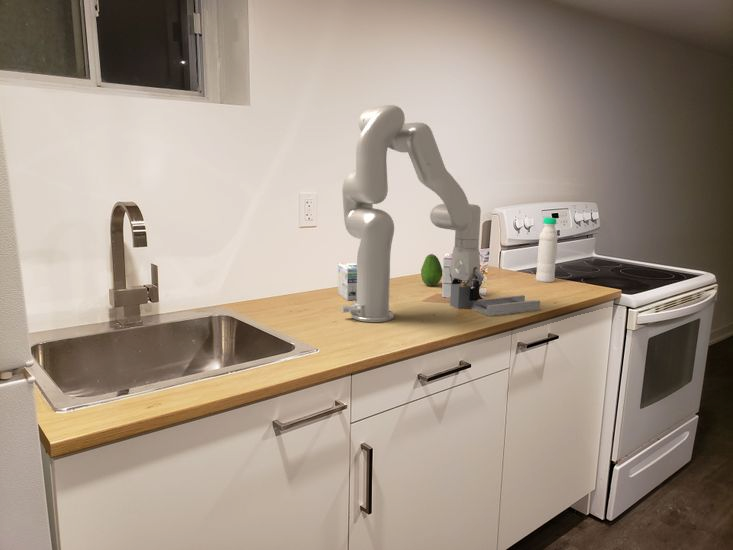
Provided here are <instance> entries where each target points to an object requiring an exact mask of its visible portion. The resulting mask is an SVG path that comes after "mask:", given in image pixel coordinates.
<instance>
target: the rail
mask: <svg viewBox="0 0 733 550" xmlns="http://www.w3.org/2000/svg"><path fill="white" fill-rule="evenodd" d="M471 310H472V311H475V312H477V311H478V313H480V314H482V313H483V314H482V315H484V316H487V315H488V316H487V317H495V316H494V315H497V316H503V315H502V314H505V315H510V314H511V313H513V314H519V313H518V312H521V313H526V312H525V311H529V312H534V311H533V310H537V311H541V310H542V306H541V300H539V299H535V300H534V299H533V300H526V296H525V295H524V294H522V295H521V294H519V295H511V296H501V297H500V296H499V297H493V298H484V299H483V298H482V299H478V300H473V306H472V307H471ZM511 315H512V314H511Z"/></svg>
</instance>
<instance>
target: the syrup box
mask: <svg viewBox="0 0 733 550" xmlns="http://www.w3.org/2000/svg"><path fill="white" fill-rule="evenodd" d="M451 259H452V253H444V255H443V256H442V278H441V280H442V283H441V284H442V285H441V287H442V288H441V297H442V298H444V297H446V299H450V297H451V284H452V282H451V277H450V272H449V266H451Z"/></svg>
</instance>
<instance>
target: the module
mask: <svg viewBox="0 0 733 550" xmlns="http://www.w3.org/2000/svg"><path fill="white" fill-rule="evenodd" d="M470 288H471V286H470V284H469V282H468V281H462V282H461V284H451V297H450V298H449V303H450V304H449V306H450V307H452V306H453V308H455V309H457V308H458V310H460V308H461V309H469V308H468V307H470V308H472V306H473V301H470V300H469V289H470Z"/></svg>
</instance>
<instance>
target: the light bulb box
mask: <svg viewBox="0 0 733 550" xmlns="http://www.w3.org/2000/svg"><path fill="white" fill-rule="evenodd" d="M337 266H338V269H337V270H338V273H337V274H338V276H337V277H338V285H337V287H338V289H337V294H338V293H339V296H341V297H343V299H345V300H346V301H357V262H352V263H351V262H349V263H347V262H346V263H345V262H343V263H341V262H340V263H338V265H337Z"/></svg>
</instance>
